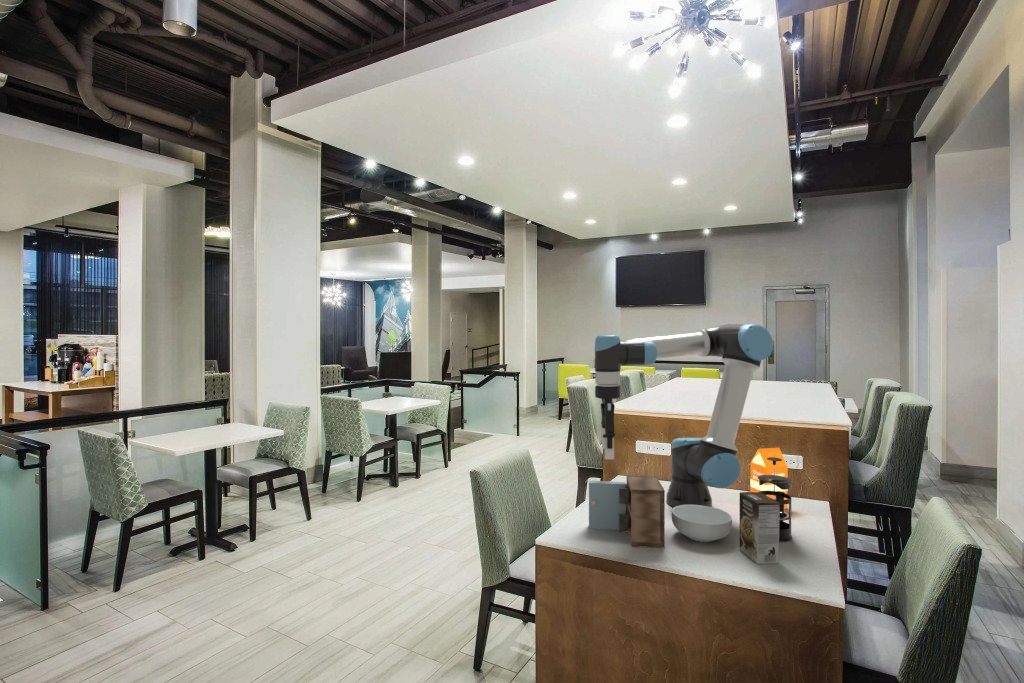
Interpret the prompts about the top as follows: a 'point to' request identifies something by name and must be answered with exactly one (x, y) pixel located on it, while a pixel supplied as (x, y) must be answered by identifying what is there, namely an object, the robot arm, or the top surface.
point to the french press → (779, 499)
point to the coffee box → (759, 527)
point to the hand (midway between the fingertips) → (607, 453)
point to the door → (605, 504)
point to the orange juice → (767, 470)
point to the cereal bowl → (701, 522)
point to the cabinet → (643, 511)
